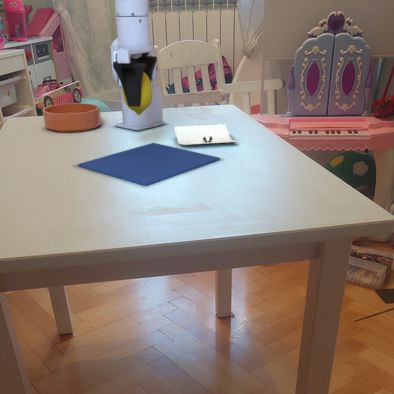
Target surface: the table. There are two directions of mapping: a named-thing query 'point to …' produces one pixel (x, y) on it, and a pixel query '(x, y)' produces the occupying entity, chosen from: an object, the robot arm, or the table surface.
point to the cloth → (149, 163)
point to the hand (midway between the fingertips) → (138, 103)
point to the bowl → (72, 117)
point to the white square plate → (202, 134)
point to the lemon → (142, 96)
